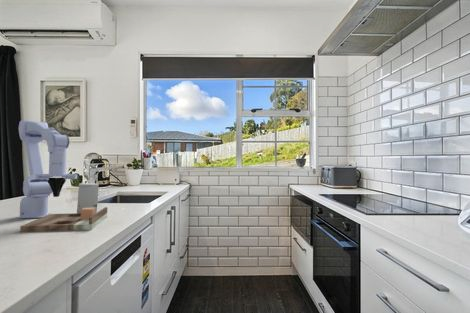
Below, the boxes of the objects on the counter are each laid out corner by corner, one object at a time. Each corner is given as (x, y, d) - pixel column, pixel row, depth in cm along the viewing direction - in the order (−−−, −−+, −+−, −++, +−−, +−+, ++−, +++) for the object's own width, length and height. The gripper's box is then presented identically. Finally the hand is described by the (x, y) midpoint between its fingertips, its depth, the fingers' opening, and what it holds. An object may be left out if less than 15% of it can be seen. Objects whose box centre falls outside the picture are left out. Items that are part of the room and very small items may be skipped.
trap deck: (20, 232, 93) (20, 219, 93) (49, 218, 114) (50, 208, 114) (91, 229, 98) (92, 217, 98) (107, 217, 119) (107, 207, 119)
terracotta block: (80, 219, 105) (80, 209, 105) (84, 217, 109) (84, 207, 109) (91, 219, 106) (91, 209, 106) (94, 217, 110) (95, 207, 110)
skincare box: (76, 217, 117) (77, 184, 118) (77, 215, 123) (78, 183, 123) (97, 216, 121) (98, 183, 122) (97, 213, 127) (98, 182, 127)
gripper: (32, 163, 103) (31, 198, 103) (73, 164, 107) (72, 197, 106) (41, 163, 110) (40, 195, 110) (79, 163, 113) (78, 195, 113)
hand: (56, 196), depth 109 cm, fingers closed
